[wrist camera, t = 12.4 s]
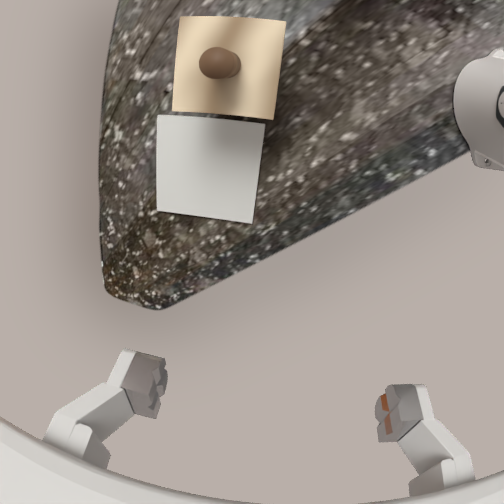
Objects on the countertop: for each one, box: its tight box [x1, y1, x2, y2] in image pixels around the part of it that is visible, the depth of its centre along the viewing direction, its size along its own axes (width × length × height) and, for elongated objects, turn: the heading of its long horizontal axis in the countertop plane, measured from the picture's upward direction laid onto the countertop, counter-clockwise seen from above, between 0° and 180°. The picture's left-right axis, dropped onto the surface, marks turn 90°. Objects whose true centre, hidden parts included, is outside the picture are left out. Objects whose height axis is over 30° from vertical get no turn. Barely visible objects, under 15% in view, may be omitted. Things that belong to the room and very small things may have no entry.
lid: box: [172, 16, 286, 120], centre depth 24 cm, size 10×10×6 cm
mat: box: [157, 115, 265, 224], centre depth 40 cm, size 14×14×1 cm
